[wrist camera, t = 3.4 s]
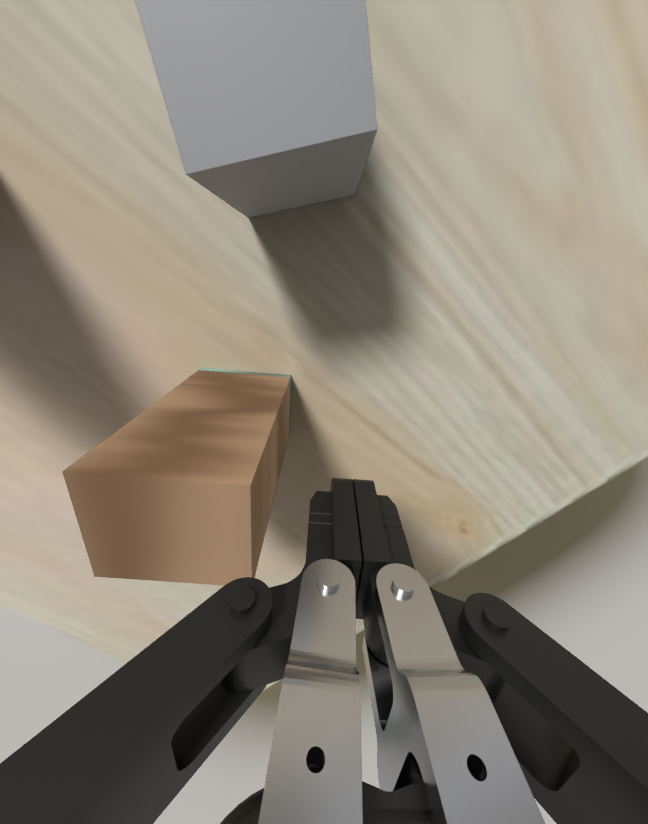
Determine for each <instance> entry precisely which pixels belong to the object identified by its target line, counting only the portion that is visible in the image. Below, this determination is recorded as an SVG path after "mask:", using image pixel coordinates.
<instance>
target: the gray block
mask: <svg viewBox="0 0 648 824" xmlns="http://www.w3.org/2000/svg"><path fill="white" fill-rule="evenodd" d="M135 2H136V6H137V9H138V13H139V16H140V19H141V23H142V26H143V30H144V33H145V36H146V40H147V43H148V47H149V50H150V53H151V57H152V60H153V64H154V67H155V70H156V74H157V77H158V81H159V84H160V88H161V91H162V94H163V98H164V101H165V105H166V108H167V111H168V115H169V118H170V122H171V125H172V128H173V132H174V135H175V139H176V142H177V145H178V149H179V152H180V156H181V159H182V162H183V166H184V169H185V173H186V175H188V176H189V177H191V178H192V179H194V180H195V181H196V182H198V183H199V184H201V185H202V186H204V187H205V188H206V189H208V190H209V191H211V192H212V193H214V194H215V195H216V196H218V197H219V198H221V199H222V200H224V201H225V202H226V203H228V204H229V205H231V206H232V207H234V208H235V209H236V210H238V211H239V212H241V213H242V214H244V215H245V216H246V217H248V218H251V217H255V216H260V215H264V214H269V213H273V212H278V211H283V210H287V209H292V208H296V207H301V206H306V205H310V204H315V203H319V202H324V201H328V200H333V199H338V198H342V197H347V196H351V195H355V194H356V191H357V188H358V185H359V182H360V179H361V176H362V173H363V170H364V167H365V164H366V161H367V158H368V155H369V152H370V149H371V146H372V143H373V140H374V137H375V134H376V132H377V121H376V109H375V98H374V87H373V76H372V64H371V53H370V42H369V31H368V19H367V8H366V0H135Z"/></svg>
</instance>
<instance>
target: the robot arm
mask: <svg viewBox="0 0 648 824" xmlns="http://www.w3.org/2000/svg"><path fill="white" fill-rule="evenodd" d="M356 619H364V628H365V635H364V640H363V653H364V660H365V666H366V672H367V678H368V684H369V690H370V697H371V702H372V709H373V715H374V721H375V727H376V735H377V767H378V779H379V786H380V789H379V788H376V787H374V786H372V785H369V784H367V783H365V782H363V781H362V758H361V704H360V679H359V672H358V671H357V669H356ZM280 679H283V682H282V689H281V694H280V700H279V706H278V712H277V717H276V723H275V729H274V735H273V740H272V746H271V752H270V758H269V764H268V769H267V775H266V781H265V787H264V788H263V789H261V790H259V791H257V792H256V793H254V794H252V795H251V796H249V797H248V798H247V799H245V800H244V801H243V802H241V803H240V804H239V805H238V806H237V807H236V808H235V809H234V810H233V811H232V812H231V813H229V814H228V815H227V816H226V817H225V818H224V820H223V821H222V822H221V823H220V824H545V822H544V819H543V817H542V815H541V813H540V811H539V808H538V806H537V804H536V801H535V799H536V800H537V801H538V803H539V804H540V805H541V806H542V807H543V808H544V809H545V811H546V812H547V813H548V814H549V815H550V816H551V817H552V819H553V820H554V821H555V822H556V823H557V824H648V713H647V712H646V711H644V710H643V709H642V708H640V707H639V706H638V705H637V704H635V703H634V702H633V701H631V700H630V699H629V698H628V697H626V696H625V695H624V694H622V693H621V692H620V691H619V690H617V689H616V688H615V687H614V686H612V685H611V684H609V683H608V682H607V681H606V680H604V679H603V678H602V677H601V676H599V675H598V674H597V673H596V672H594V671H593V670H592V669H590V668H589V667H588V666H587V665H585V664H584V663H583V662H582V661H580V660H579V659H578V658H576V657H575V656H574V655H572V654H571V653H570V652H569V651H567V650H566V649H565V648H563V647H562V646H561V645H560V644H558V643H557V642H556V641H555V640H553V639H552V638H551V637H549V636H548V635H547V634H546V633H544V632H543V631H542V630H540V629H539V628H538V627H537V626H535V625H534V624H533V623H531V622H530V621H529V620H528V619H526V618H525V617H524V616H522V615H521V614H520V613H519V612H517V611H516V610H515V609H514V608H512V607H511V606H510V605H508V604H507V603H506V602H504V601H503V600H501V599H499V598H497V597H495V596H493V595H490V594H485V593H476V594H473V595H471V596H470V597H468V598H467V600H466V602H463V601H460V600H457V599H454V598H452V597H449V596H446V595H443V594H441V593H439V592H437V591H435V590H433V589H432V588H430V587H429V586H428V584H427V582H426V580H425V579H424V577H423V576H422V575H421V574H420V573H419V572H417V571H416V570H415V568H414V565H413V562H412V558H411V555H410V551H409V548H408V545H407V541H406V538H405V535H404V531H403V530H402V525H401V521H400V520H399V514H398V511H397V508H396V505H395V504H394V503H393V502H392V501H391V500H390V498H389V497H388V496H383V495H377V494H376V490H375V485H374V482H373V481H371V480H357V479H353V480H352V479H342V478H332V480H331V489H330V492H324V491H317V492H316V493H315V494H314V496H313V497H312V499H311V500H310V512H309V525H308V538H307V552H306V563H305V566H304V568H303V570H302V572H301V573H300V574H299V575H298V576H297V577H296V578H295V579H293V580H292V581H290V582H288V583H285V584H282V585H278V586H274V587H270V588H268V586H267V585H266V584H265V583H264V582H262V581H261V580H259V579H256V578H251V577H243V578H238V579H235V580H233V581H231V582H229V583H228V584H226V585H225V586H223V587H222V588H221V589H220V590H218V591H217V592H216V593H215V594H213V595H212V596H211V597H210V598H208V599H207V600H206V601H205V602H203V603H202V604H201V605H200V606H198V607H197V608H196V609H195V610H193V611H192V612H191V613H189V614H188V615H187V616H186V617H184V618H183V619H182V620H181V621H179V622H178V623H177V624H176V625H174V626H173V627H172V628H171V629H169V630H168V631H167V632H166V633H164V634H163V635H162V636H160V637H159V638H158V639H157V640H155V641H154V642H153V643H152V644H150V645H149V646H148V647H147V648H145V649H144V650H143V651H142V652H140V653H139V654H138V655H137V656H135V657H134V658H133V659H132V660H130V661H129V662H128V663H126V664H125V665H124V666H123V667H122V668H120V669H119V670H118V671H116V672H115V673H114V674H113V675H111V676H110V677H109V678H108V679H106V680H105V681H104V682H103V683H101V684H100V685H99V686H98V687H97V688H95V689H94V690H93V691H91V692H90V693H89V694H88V695H86V696H85V697H84V698H82V699H81V700H80V701H79V702H77V703H76V704H75V705H74V706H72V707H71V708H70V709H69V710H67V711H66V712H65V713H64V714H62V715H61V716H60V717H58V718H57V719H56V720H55V721H53V722H52V723H51V724H50V725H49V726H47V727H46V728H45V729H43V730H42V731H41V732H40V733H38V734H37V735H36V736H35V737H33V738H32V739H31V740H30V741H28V742H27V743H26V744H24V745H23V746H22V747H21V748H20V749H18V750H17V751H16V752H14V753H13V754H12V755H11V756H9V757H8V758H7V759H6V760H4V761H3V762H2V763H1V764H0V824H153V823H154V822H155V821H156V819H157V818H158V817H159V816H160V814H161V813H162V812H163V811H164V810H165V808H166V807H167V806H168V805H169V804H170V802H171V801H172V800H173V799H174V798H175V796H176V795H177V794H178V793H179V791H180V790H181V789H182V788H183V787H184V785H185V784H186V783H187V782H188V780H189V779H190V778H191V777H192V776H193V774H194V773H195V772H196V771H197V770H198V768H199V767H200V766H201V765H202V764H203V762H204V761H205V760H206V759H207V758H208V756H209V755H210V754H211V753H212V751H213V750H214V749H215V748H216V746H218V744H219V743H220V742H221V741H222V739H223V738H224V737H225V736H226V735H227V733H228V732H229V731H230V730H231V729H232V727H233V726H234V725H235V724H236V723H237V721H238V720H239V719H240V718H241V717H242V715H243V714H244V713H245V712H246V710H247V709H248V708H249V707H250V706H251V704H252V703H253V702H254V701H255V700H256V698H257V697H258V696H259V695H260V694H261V692H262V691H263V690H264V688H265V687H266V685H267V684H269V683H272V682H275V681H278V680H280ZM534 798H535V799H534Z"/></svg>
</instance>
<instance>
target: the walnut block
mask: <svg viewBox="0 0 648 824" xmlns="http://www.w3.org/2000/svg"><path fill="white" fill-rule="evenodd" d="M290 387H291V375H280V374H268V373H256V372H243V371H231V370H219V369H207V368H201V369H200V370H198V371H197V372H196V373H194V374H193V375H192V376H190V377H189V378H187V379H186V380H185V381H183V382H182V383H181V384H179V385H178V386H177V387H175V388H174V389H173V390H171V391H170V392H169V393H167V394H166V395H165V396H163V397H162V398H161V399H159V400H158V401H157V402H155V403H154V404H153V405H151V406H150V407H149V408H147V409H146V410H144V411H143V412H142V413H140V414H139V415H138V416H136V417H135V418H134V419H132V420H131V421H130V422H128V423H127V424H126V425H124V426H123V427H122V428H120V429H119V430H118V431H116V432H115V433H114V434H112V435H111V436H110V437H108V438H107V439H106V440H104V441H103V442H101V443H100V444H99V445H97V446H96V447H95V448H93V449H92V450H91V451H89V452H88V453H87V454H85V455H84V456H83V457H81V458H80V459H79V460H77V461H76V462H75V463H73V464H72V465H71V466H69V467H68V468H67V469H65V470H64V471H63V475H64V478H65V481H66V485H67V488H68V491H69V494H70V498H71V501H72V504H73V507H74V511H75V514H76V517H77V521H78V524H79V527H80V530H81V534H82V537H83V540H84V543H85V547H86V550H87V553H88V556H89V560H90V563H91V566H92V570H93V573H94V576H95V577H110V578H125V579H139V580H154V581H169V582H183V583H198V584H213V585H226V584H228V583H229V582H231V581H233V580H235V579H238V578H243V577H251V578H254V577H255V573H256V569H257V565H258V561H259V556H260V552H261V548H262V544H263V540H264V536H265V532H266V528H267V524H268V520H269V515H270V511H271V507H272V503H273V499H274V495H275V491H276V487H277V483H278V479H279V474H280V470H281V466H282V462H283V458H284V454H285V450H286V446H287V442H288V436H289V411H290Z"/></svg>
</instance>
